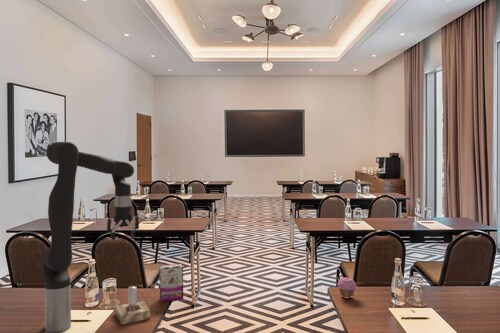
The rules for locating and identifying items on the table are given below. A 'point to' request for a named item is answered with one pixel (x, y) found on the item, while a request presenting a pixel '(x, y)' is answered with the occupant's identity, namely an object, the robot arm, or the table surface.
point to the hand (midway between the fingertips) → (123, 239)
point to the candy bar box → (171, 282)
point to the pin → (132, 298)
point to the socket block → (132, 313)
